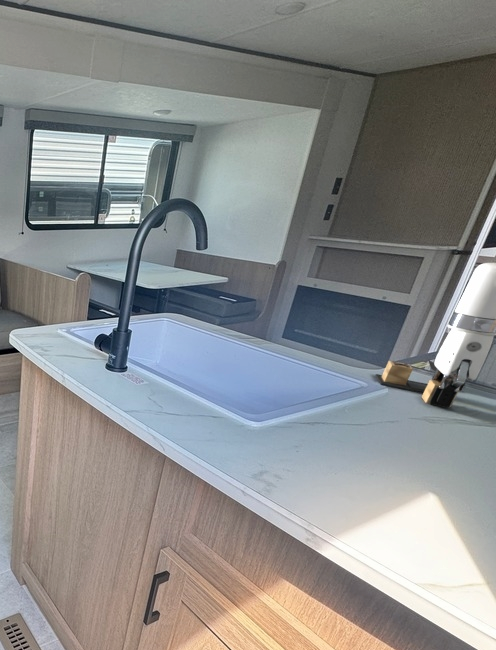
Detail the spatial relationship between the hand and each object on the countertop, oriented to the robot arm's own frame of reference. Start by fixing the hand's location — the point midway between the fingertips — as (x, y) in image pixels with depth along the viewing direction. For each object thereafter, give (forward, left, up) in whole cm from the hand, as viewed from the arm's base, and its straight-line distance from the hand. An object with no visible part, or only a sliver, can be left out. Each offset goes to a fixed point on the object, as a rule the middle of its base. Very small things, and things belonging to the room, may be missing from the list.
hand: (435, 401), depth 97 cm
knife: (-6, -23, -1) cm, 24 cm away
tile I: (0, 0, 0) cm, 0 cm away
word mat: (+3, -10, 0) cm, 11 cm away
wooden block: (+6, -10, 0) cm, 12 cm away
